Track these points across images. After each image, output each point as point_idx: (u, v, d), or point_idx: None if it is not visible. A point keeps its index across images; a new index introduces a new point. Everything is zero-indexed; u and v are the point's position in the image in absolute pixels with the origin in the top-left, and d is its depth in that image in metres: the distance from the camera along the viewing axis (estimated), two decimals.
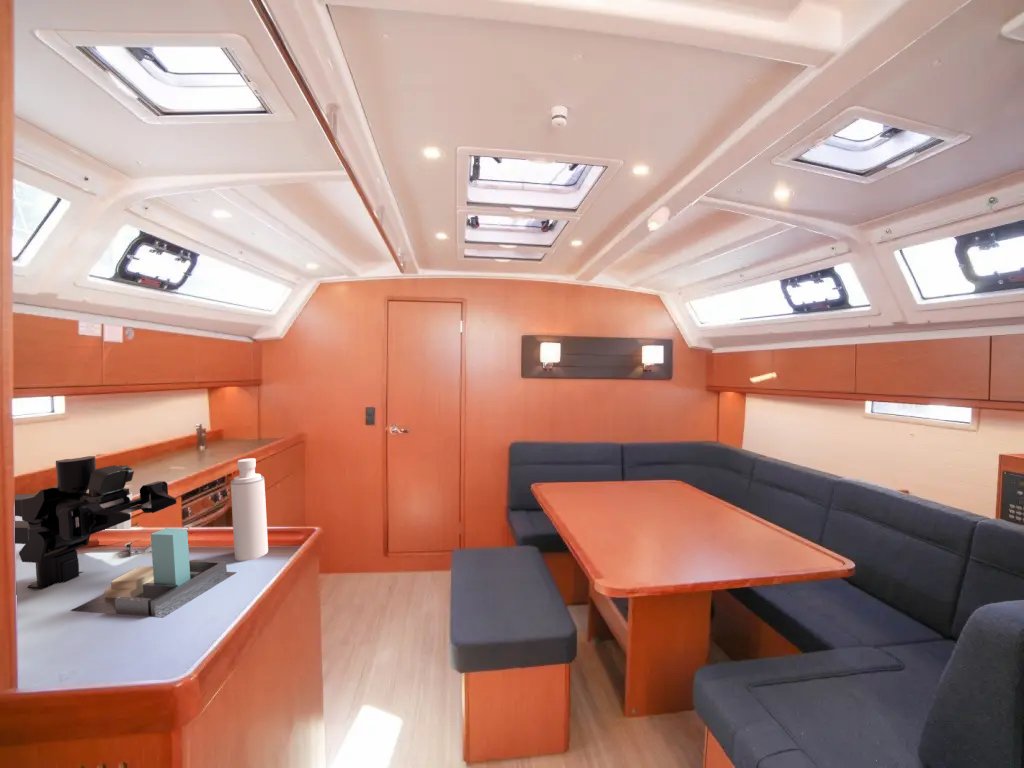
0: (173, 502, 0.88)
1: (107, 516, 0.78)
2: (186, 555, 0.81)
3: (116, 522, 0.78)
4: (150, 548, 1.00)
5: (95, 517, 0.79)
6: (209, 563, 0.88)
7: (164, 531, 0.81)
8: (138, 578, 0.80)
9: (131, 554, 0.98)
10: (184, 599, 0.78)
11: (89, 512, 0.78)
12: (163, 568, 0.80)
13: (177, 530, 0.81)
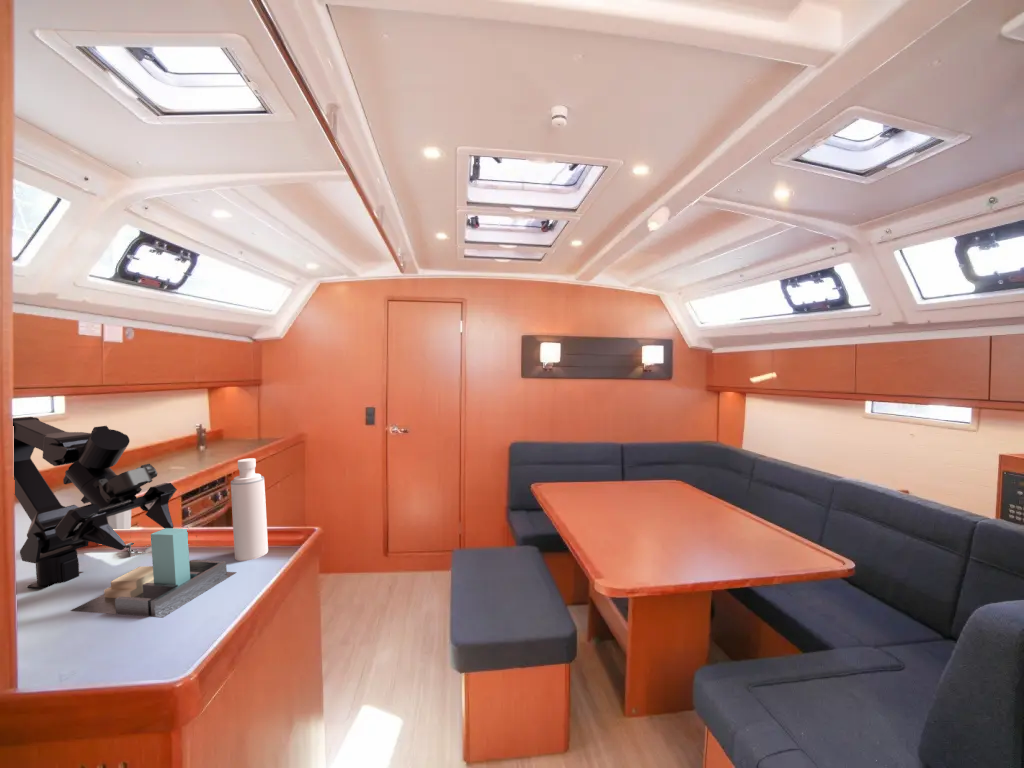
0: None
1: (106, 536, 0.76)
2: (186, 555, 0.81)
3: (109, 545, 0.76)
4: (150, 549, 1.00)
5: None
6: (209, 563, 0.88)
7: (164, 531, 0.81)
8: (138, 578, 0.80)
9: (131, 554, 0.97)
10: (184, 599, 0.78)
11: (93, 523, 0.75)
12: (163, 568, 0.80)
13: (177, 530, 0.81)
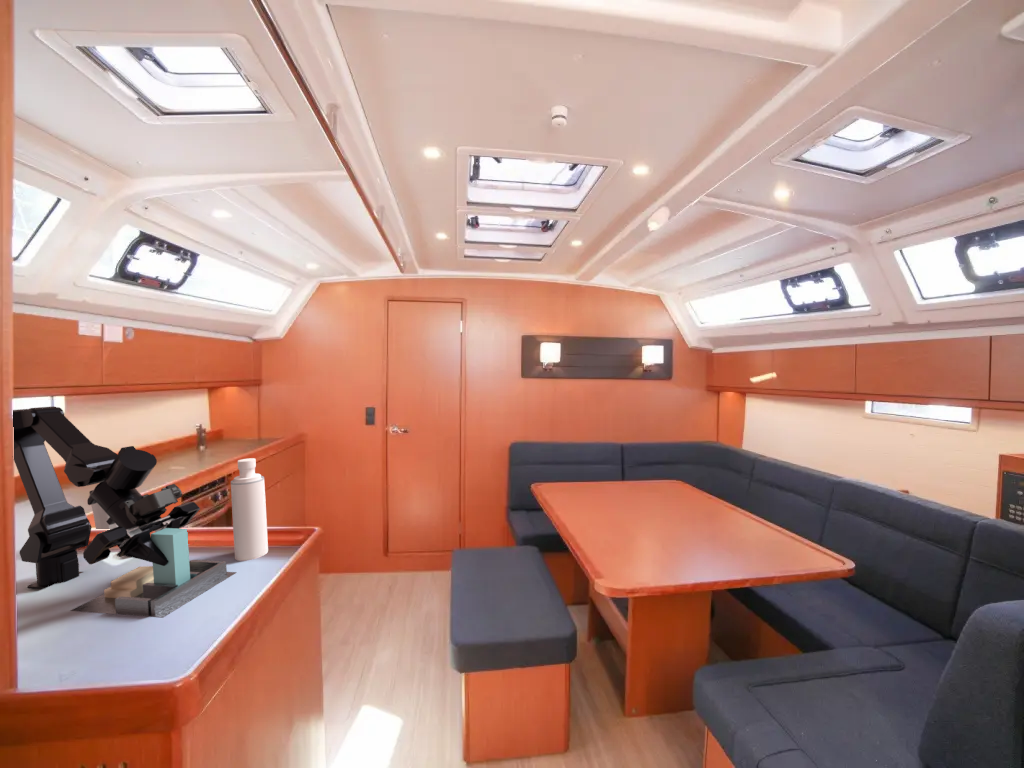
0: None
1: (149, 552, 0.78)
2: (186, 555, 0.81)
3: (152, 561, 0.79)
4: None
5: None
6: (209, 563, 0.88)
7: (164, 531, 0.81)
8: (138, 578, 0.80)
9: None
10: (184, 599, 0.78)
11: (138, 540, 0.77)
12: (163, 568, 0.80)
13: (177, 530, 0.81)
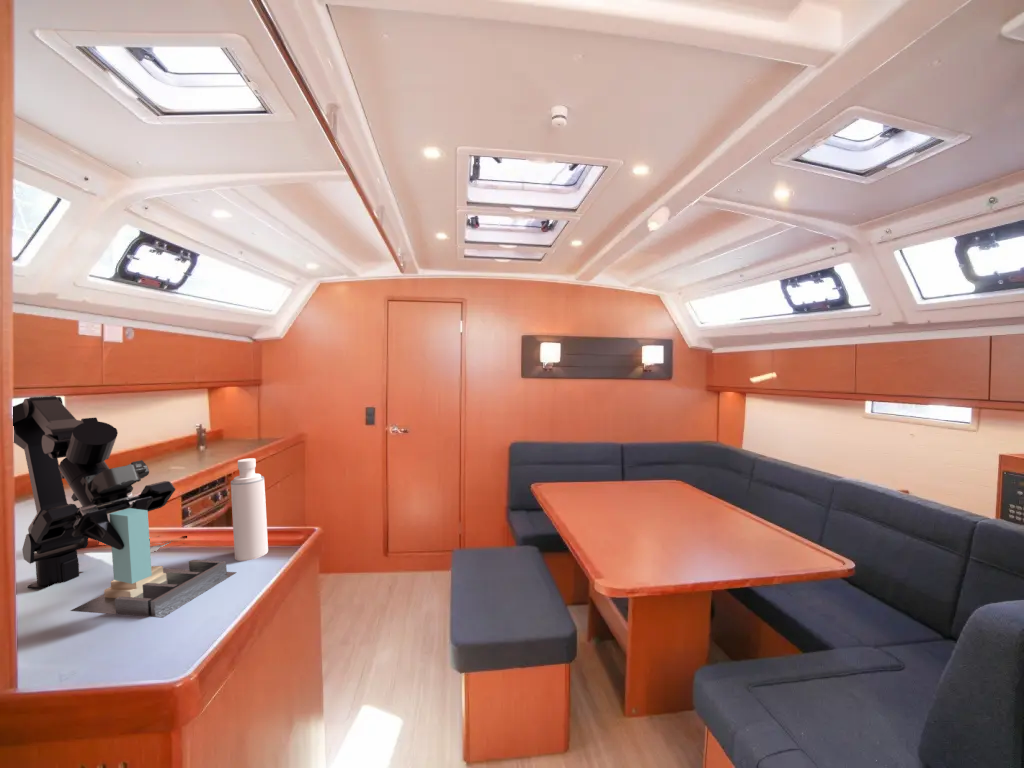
0: None
1: (104, 533, 0.71)
2: (146, 539, 0.73)
3: (108, 543, 0.71)
4: (150, 549, 0.99)
5: None
6: (209, 563, 0.88)
7: (123, 512, 0.73)
8: None
9: None
10: (184, 599, 0.78)
11: (92, 519, 0.70)
12: (120, 552, 0.72)
13: (137, 511, 0.73)
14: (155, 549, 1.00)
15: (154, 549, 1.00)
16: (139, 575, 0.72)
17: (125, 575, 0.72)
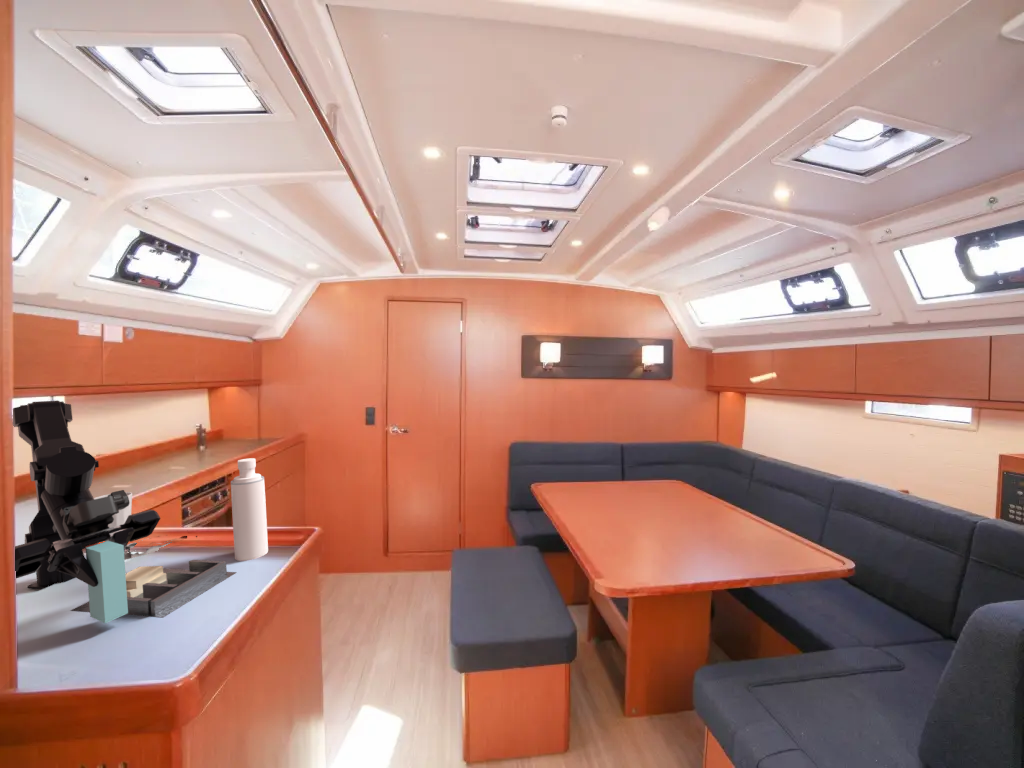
0: None
1: (79, 569, 0.68)
2: (121, 576, 0.70)
3: (83, 580, 0.68)
4: (150, 550, 0.99)
5: None
6: (209, 563, 0.88)
7: (100, 546, 0.70)
8: (138, 578, 0.80)
9: (132, 556, 0.97)
10: (184, 599, 0.78)
11: (66, 555, 0.67)
12: (95, 588, 0.69)
13: (112, 546, 0.70)
14: (155, 549, 1.00)
15: (154, 550, 1.00)
16: (113, 614, 0.69)
17: (99, 614, 0.68)
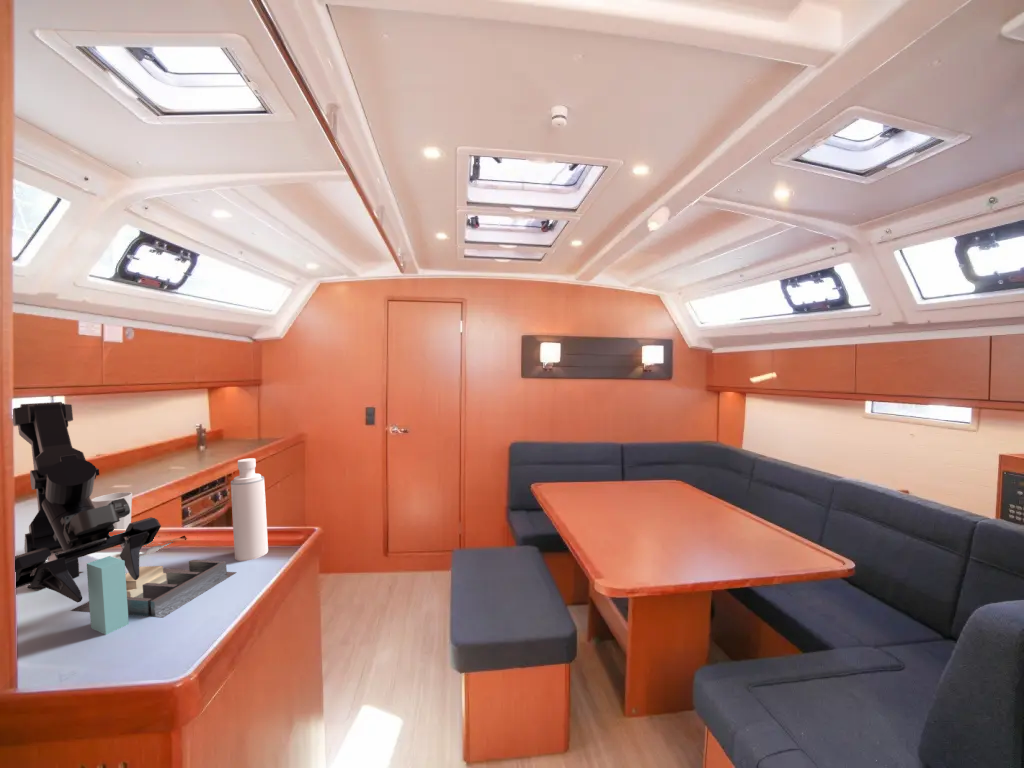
0: (135, 576, 0.73)
1: (62, 585, 0.66)
2: (122, 591, 0.70)
3: (66, 595, 0.66)
4: (151, 550, 0.99)
5: None
6: (209, 563, 0.88)
7: (101, 561, 0.70)
8: (138, 578, 0.80)
9: None
10: (184, 599, 0.78)
11: (49, 569, 0.65)
12: (96, 604, 0.69)
13: (113, 561, 0.70)
14: (155, 549, 1.00)
15: (154, 550, 0.99)
16: (114, 629, 0.69)
17: (100, 629, 0.68)
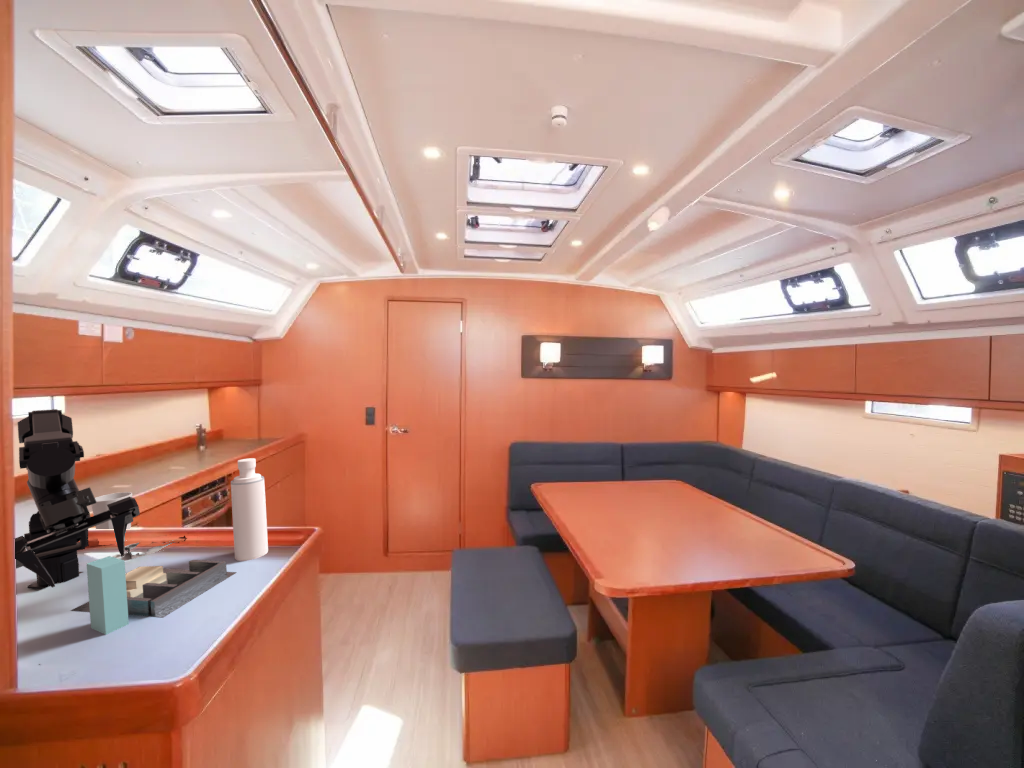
0: None
1: (35, 572, 0.71)
2: (122, 591, 0.70)
3: None
4: (151, 550, 0.99)
5: None
6: (209, 563, 0.88)
7: (101, 561, 0.70)
8: (138, 578, 0.80)
9: (132, 557, 0.96)
10: (184, 599, 0.78)
11: None
12: (96, 604, 0.69)
13: (113, 561, 0.70)
14: (156, 550, 0.99)
15: (155, 550, 0.99)
16: (114, 629, 0.69)
17: (100, 629, 0.68)
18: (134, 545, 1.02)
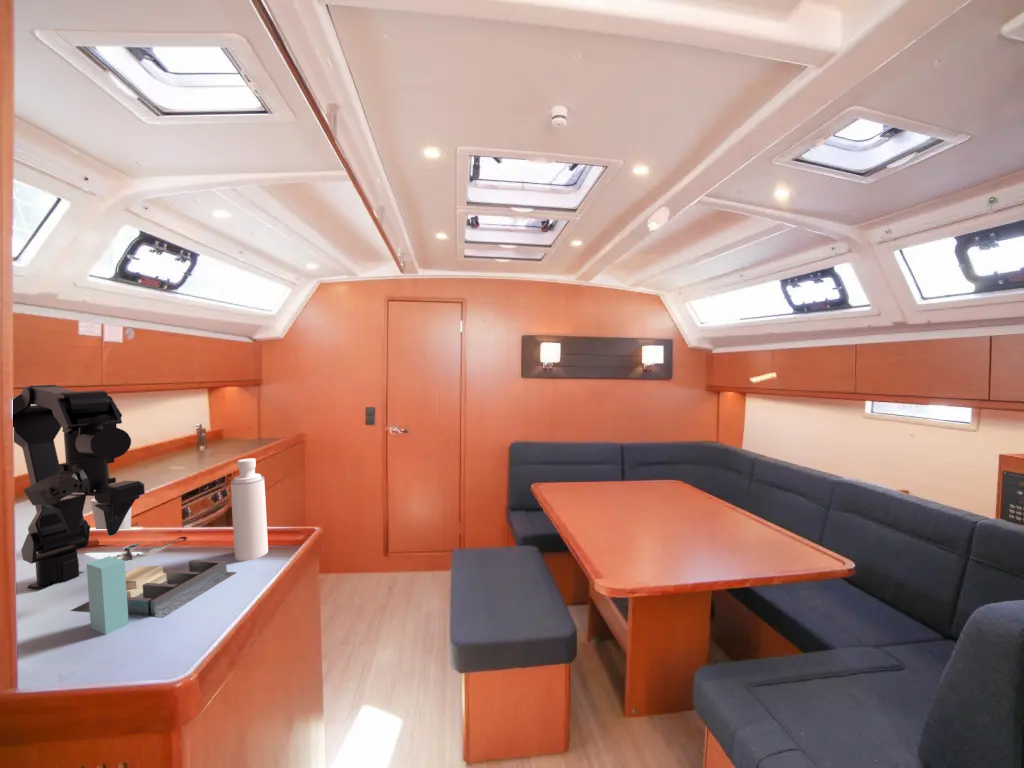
0: None
1: None
2: (122, 591, 0.70)
3: None
4: (151, 551, 0.99)
5: None
6: (209, 563, 0.88)
7: (100, 562, 0.70)
8: (138, 578, 0.80)
9: (133, 557, 0.96)
10: (184, 599, 0.78)
11: None
12: (96, 604, 0.69)
13: (113, 561, 0.70)
14: (156, 550, 0.99)
15: (155, 551, 0.99)
16: (114, 629, 0.69)
17: (100, 630, 0.68)
18: (134, 546, 1.02)
